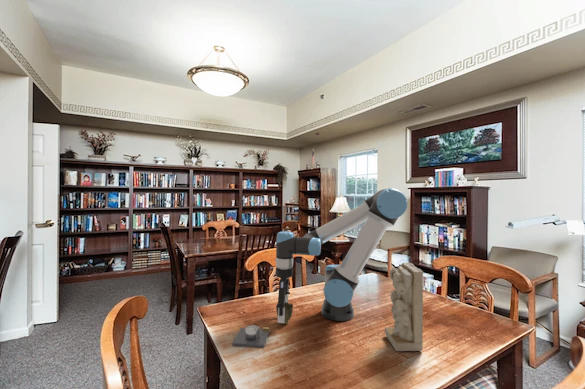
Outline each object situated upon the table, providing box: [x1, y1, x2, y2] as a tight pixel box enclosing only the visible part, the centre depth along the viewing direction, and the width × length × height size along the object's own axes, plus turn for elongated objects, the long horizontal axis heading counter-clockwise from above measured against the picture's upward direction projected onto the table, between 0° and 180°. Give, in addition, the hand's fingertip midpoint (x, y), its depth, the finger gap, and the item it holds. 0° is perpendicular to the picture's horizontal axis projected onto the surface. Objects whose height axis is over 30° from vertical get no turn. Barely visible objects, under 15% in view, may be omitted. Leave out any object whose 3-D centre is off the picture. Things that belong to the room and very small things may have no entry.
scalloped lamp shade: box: [275, 301, 294, 325], centre depth 122 cm, size 8×7×8 cm
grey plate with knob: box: [231, 324, 271, 348], centre depth 109 cm, size 12×12×4 cm
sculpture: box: [384, 262, 424, 352], centre depth 105 cm, size 13×10×30 cm
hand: (283, 315), depth 122 cm, fingers open, 13 cm apart
